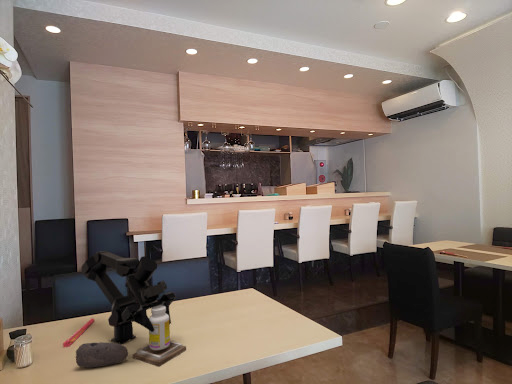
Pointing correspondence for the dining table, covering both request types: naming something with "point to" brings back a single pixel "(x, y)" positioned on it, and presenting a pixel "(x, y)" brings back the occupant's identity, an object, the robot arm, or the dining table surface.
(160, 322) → the supplement bottle
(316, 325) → the dining table surface
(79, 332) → the chopstick
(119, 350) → the perforated stone tool
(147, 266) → the robot arm
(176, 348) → the seat plate
